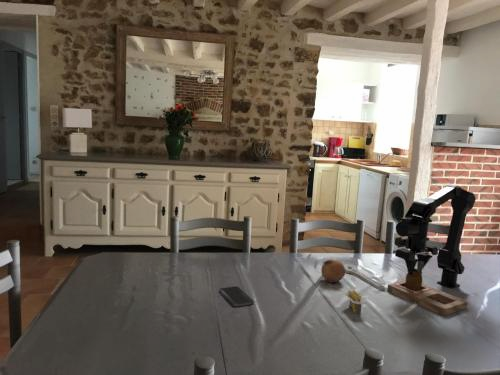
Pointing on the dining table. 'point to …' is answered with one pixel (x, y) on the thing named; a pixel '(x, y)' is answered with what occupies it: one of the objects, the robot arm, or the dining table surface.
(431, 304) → the double window frame
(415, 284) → the utensil holder
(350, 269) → the adjustable wrench
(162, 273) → the dining table surface
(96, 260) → the dining table surface
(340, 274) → the onion
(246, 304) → the phone
